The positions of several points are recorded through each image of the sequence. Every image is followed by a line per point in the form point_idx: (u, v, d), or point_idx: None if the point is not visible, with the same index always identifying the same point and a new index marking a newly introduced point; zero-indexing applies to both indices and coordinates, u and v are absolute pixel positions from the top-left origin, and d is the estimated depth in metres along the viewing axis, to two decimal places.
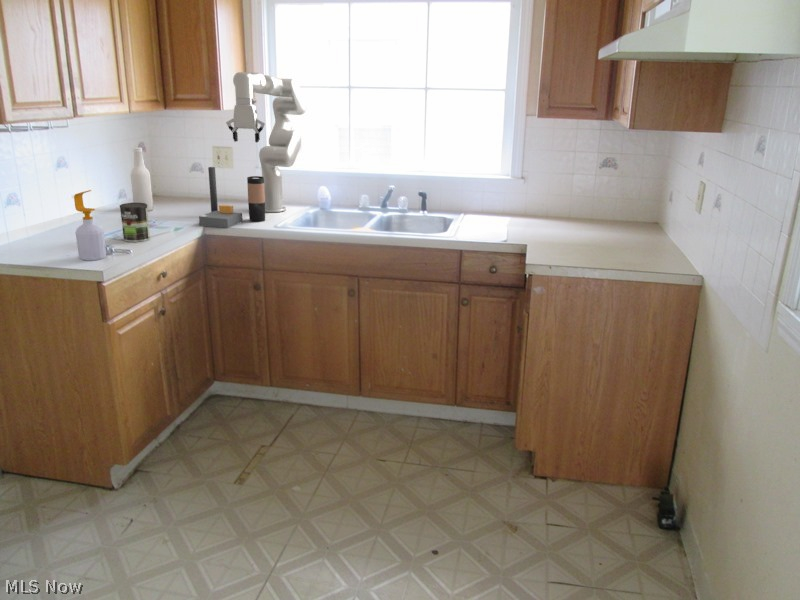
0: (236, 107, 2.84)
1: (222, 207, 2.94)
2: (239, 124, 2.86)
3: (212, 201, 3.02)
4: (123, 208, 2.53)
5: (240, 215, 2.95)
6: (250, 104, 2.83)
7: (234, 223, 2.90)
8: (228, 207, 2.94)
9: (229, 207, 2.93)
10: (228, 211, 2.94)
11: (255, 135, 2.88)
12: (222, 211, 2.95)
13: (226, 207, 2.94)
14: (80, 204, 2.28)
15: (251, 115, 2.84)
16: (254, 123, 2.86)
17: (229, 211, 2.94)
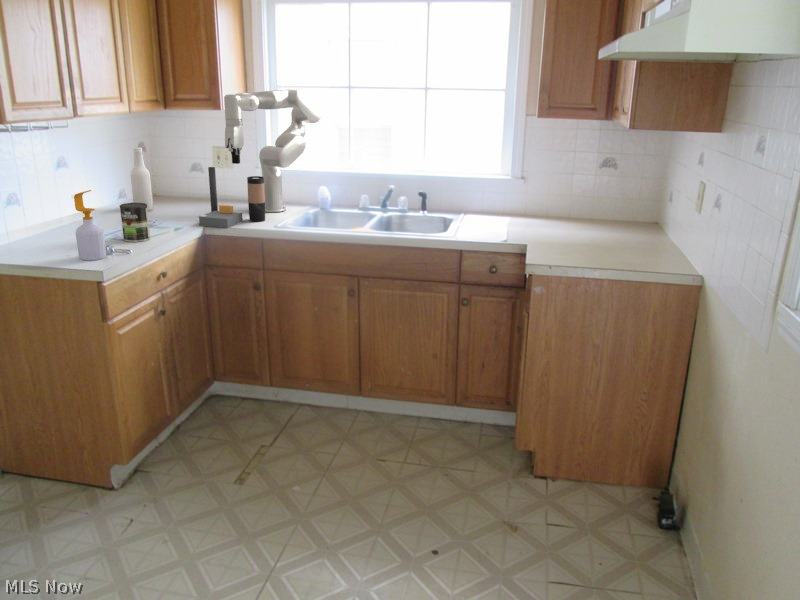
0: (235, 128, 2.91)
1: (222, 207, 2.94)
2: (237, 144, 2.94)
3: (212, 201, 3.02)
4: (123, 208, 2.53)
5: (240, 215, 2.95)
6: None
7: (234, 223, 2.90)
8: (228, 207, 2.94)
9: (229, 207, 2.93)
10: (228, 211, 2.94)
11: (239, 156, 2.99)
12: (222, 211, 2.95)
13: (226, 207, 2.94)
14: (80, 204, 2.28)
15: (242, 134, 2.98)
16: (243, 141, 3.00)
17: (229, 211, 2.94)
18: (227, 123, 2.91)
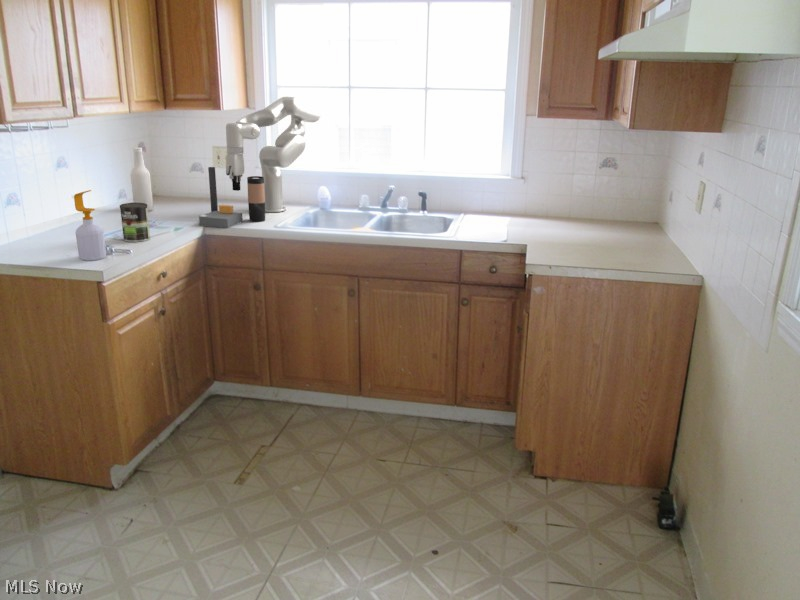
0: (236, 156, 2.95)
1: (222, 207, 2.94)
2: (237, 172, 2.98)
3: (212, 201, 3.02)
4: (123, 208, 2.53)
5: (240, 215, 2.95)
6: None
7: (234, 223, 2.90)
8: (228, 207, 2.94)
9: (229, 207, 2.93)
10: (228, 211, 2.94)
11: (239, 183, 3.02)
12: (222, 211, 2.95)
13: (226, 207, 2.94)
14: (80, 204, 2.28)
15: (243, 162, 3.02)
16: None
17: (229, 211, 2.94)
18: (228, 151, 2.95)
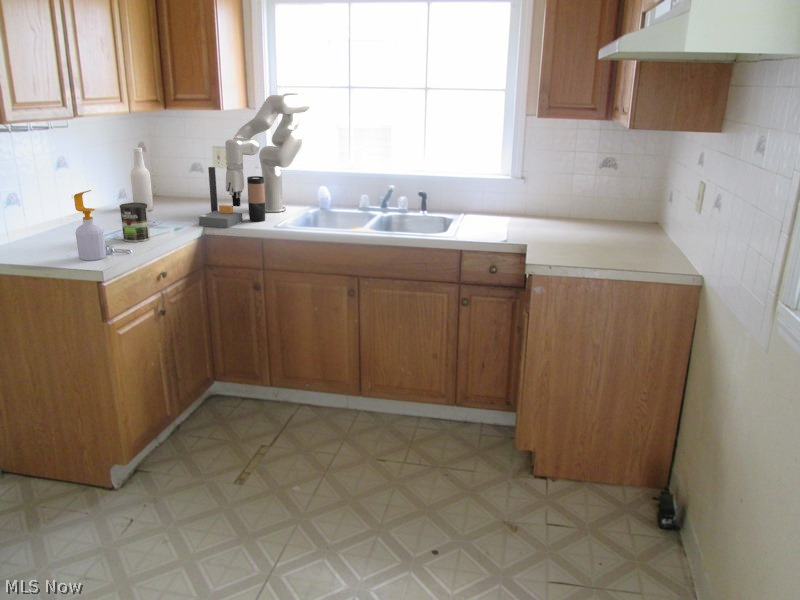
0: (236, 172, 2.96)
1: (222, 207, 2.94)
2: (237, 188, 3.00)
3: (212, 201, 3.02)
4: (123, 208, 2.53)
5: (240, 215, 2.95)
6: None
7: (234, 223, 2.90)
8: (228, 207, 2.94)
9: (229, 207, 2.93)
10: (228, 211, 2.94)
11: (239, 199, 3.04)
12: (222, 211, 2.95)
13: (226, 207, 2.94)
14: (80, 204, 2.28)
15: (243, 178, 3.03)
16: (243, 184, 3.06)
17: (229, 211, 2.94)
18: (228, 167, 2.96)
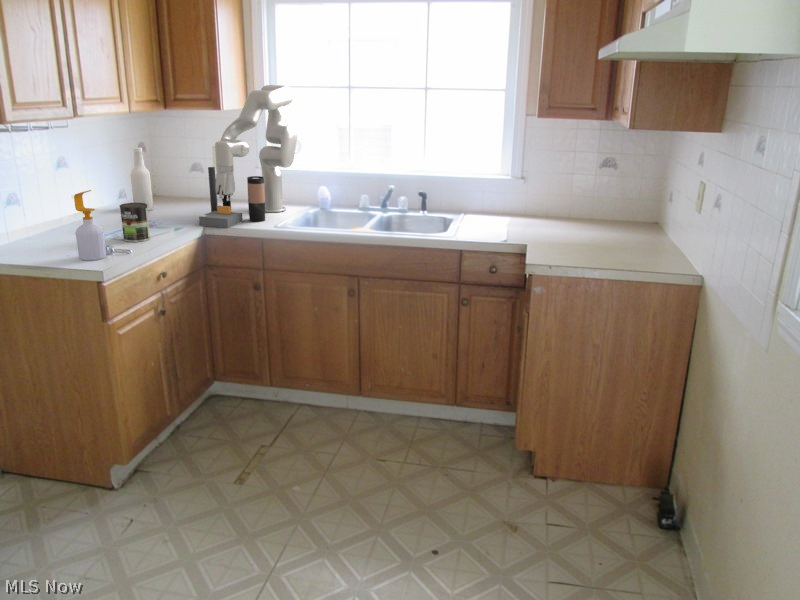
0: (226, 175, 2.88)
1: (220, 208, 2.93)
2: (228, 191, 2.91)
3: (212, 201, 3.02)
4: (123, 208, 2.53)
5: (240, 215, 2.95)
6: None
7: (234, 223, 2.90)
8: (226, 208, 2.92)
9: (227, 208, 2.92)
10: (226, 212, 2.93)
11: (230, 203, 2.95)
12: (220, 212, 2.93)
13: (224, 208, 2.92)
14: (80, 204, 2.28)
15: (233, 180, 2.95)
16: (234, 187, 2.97)
17: (227, 212, 2.92)
18: (218, 170, 2.88)
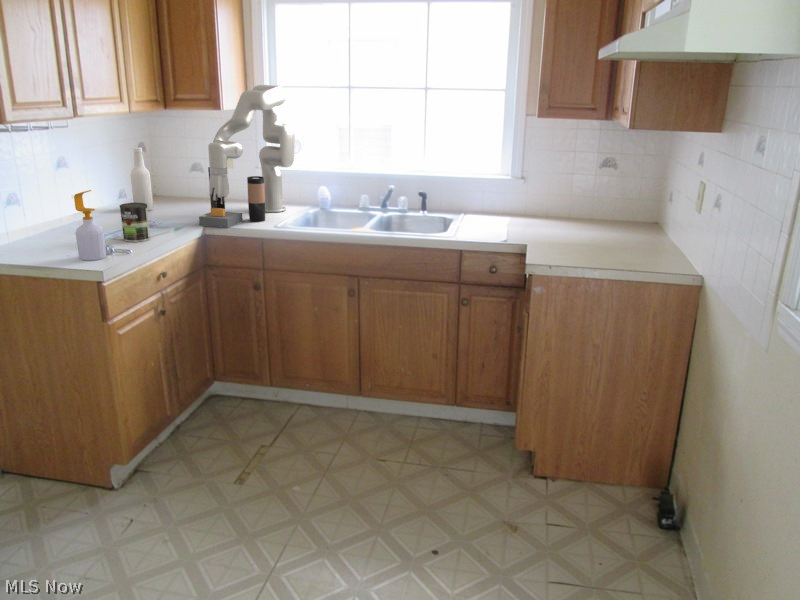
0: (219, 177, 2.83)
1: (214, 210, 2.87)
2: (221, 193, 2.86)
3: (212, 201, 3.02)
4: (123, 208, 2.53)
5: (240, 215, 2.95)
6: None
7: (234, 223, 2.90)
8: (220, 210, 2.87)
9: (221, 210, 2.87)
10: (220, 214, 2.87)
11: (224, 205, 2.90)
12: (214, 214, 2.88)
13: (218, 210, 2.87)
14: (80, 204, 2.28)
15: (227, 183, 2.90)
16: (228, 189, 2.92)
17: (221, 214, 2.87)
18: (211, 172, 2.82)
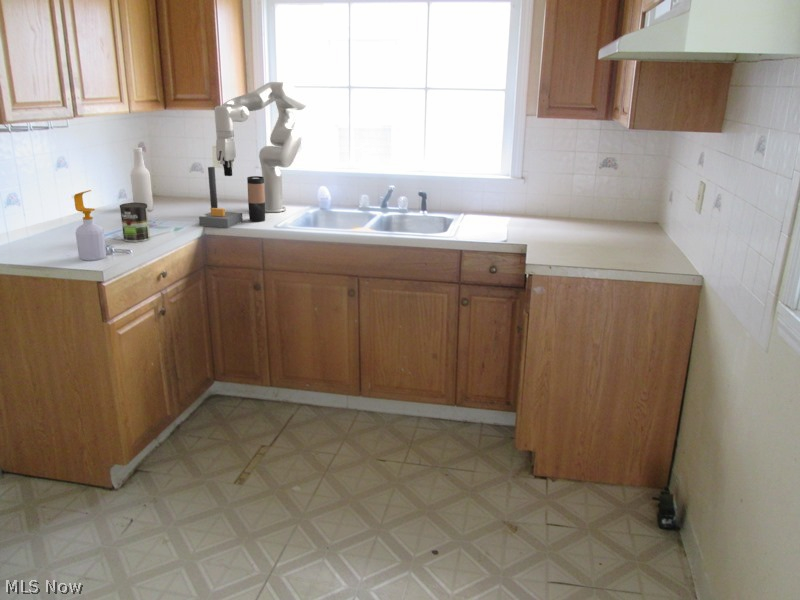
0: (226, 140, 2.85)
1: (214, 210, 2.87)
2: (228, 157, 2.88)
3: (212, 201, 3.02)
4: (123, 208, 2.53)
5: (240, 215, 2.95)
6: None
7: (234, 223, 2.90)
8: (220, 210, 2.87)
9: (221, 210, 2.87)
10: (220, 214, 2.87)
11: (231, 169, 2.93)
12: (214, 214, 2.88)
13: (218, 210, 2.87)
14: (80, 204, 2.28)
15: (234, 146, 2.92)
16: (235, 153, 2.94)
17: (221, 214, 2.87)
18: (218, 135, 2.84)
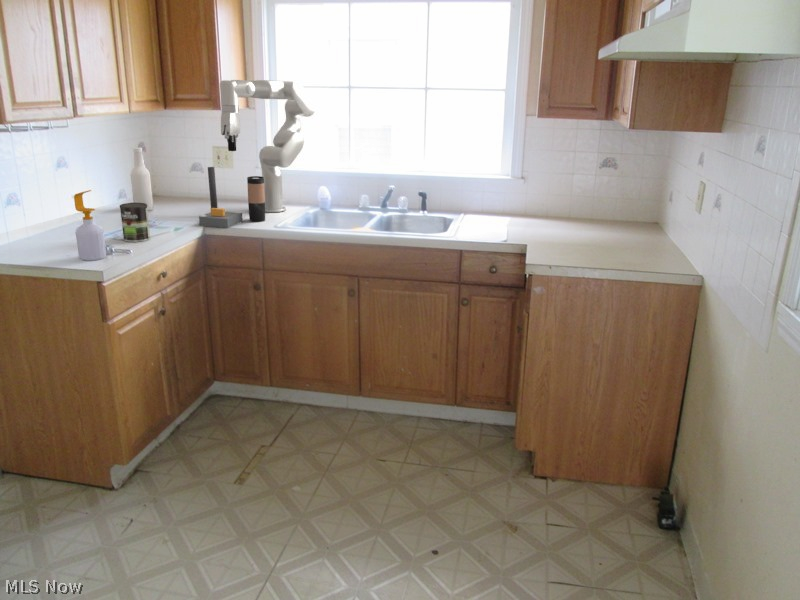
0: (231, 115, 2.86)
1: (214, 210, 2.87)
2: (233, 131, 2.90)
3: (212, 201, 3.02)
4: (123, 208, 2.53)
5: (240, 215, 2.95)
6: None
7: (234, 223, 2.90)
8: (220, 210, 2.87)
9: (221, 210, 2.87)
10: (220, 214, 2.87)
11: (235, 144, 2.94)
12: (214, 214, 2.88)
13: (218, 210, 2.87)
14: (80, 204, 2.28)
15: (238, 121, 2.93)
16: (239, 129, 2.96)
17: (221, 214, 2.87)
18: (223, 109, 2.86)
